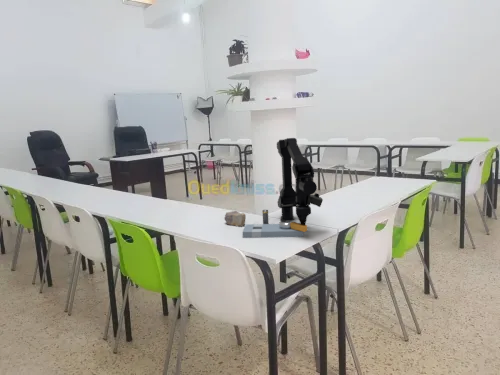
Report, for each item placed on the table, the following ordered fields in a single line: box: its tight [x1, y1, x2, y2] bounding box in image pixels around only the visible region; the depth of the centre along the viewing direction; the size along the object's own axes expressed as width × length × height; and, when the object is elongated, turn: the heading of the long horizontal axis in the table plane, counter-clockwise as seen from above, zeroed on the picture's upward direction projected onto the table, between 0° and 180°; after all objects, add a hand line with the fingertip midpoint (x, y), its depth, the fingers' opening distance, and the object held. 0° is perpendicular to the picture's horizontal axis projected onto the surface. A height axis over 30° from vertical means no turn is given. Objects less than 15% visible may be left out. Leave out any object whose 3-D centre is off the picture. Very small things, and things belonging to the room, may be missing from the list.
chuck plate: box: [242, 223, 304, 239], centre depth 173 cm, size 12×26×2 cm, turn 84°
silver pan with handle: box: [278, 219, 308, 233], centre depth 169 cm, size 6×14×3 cm, turn 41°
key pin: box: [261, 209, 270, 224], centre depth 182 cm, size 3×3×8 cm
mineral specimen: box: [223, 210, 247, 227], centre depth 190 cm, size 13×7×6 cm, turn 56°
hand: (303, 224), depth 171 cm, fingers open, 7 cm apart
